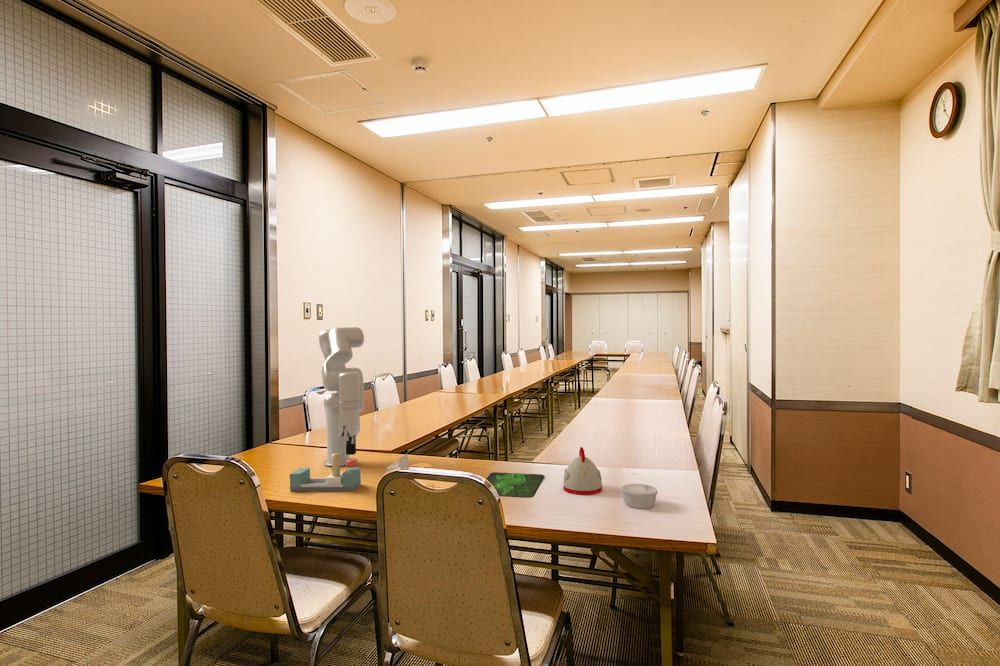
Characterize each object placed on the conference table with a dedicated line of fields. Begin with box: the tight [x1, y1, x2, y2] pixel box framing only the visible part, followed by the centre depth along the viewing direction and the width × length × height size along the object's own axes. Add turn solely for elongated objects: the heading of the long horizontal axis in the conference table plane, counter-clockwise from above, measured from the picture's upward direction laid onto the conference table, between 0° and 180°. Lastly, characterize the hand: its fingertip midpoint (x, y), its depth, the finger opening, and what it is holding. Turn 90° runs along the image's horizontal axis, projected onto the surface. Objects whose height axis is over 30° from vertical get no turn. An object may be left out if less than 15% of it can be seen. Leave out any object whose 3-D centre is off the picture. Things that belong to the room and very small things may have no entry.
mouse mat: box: [485, 471, 545, 499], centre depth 190 cm, size 27×22×1 cm
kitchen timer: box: [563, 446, 603, 496], centre depth 183 cm, size 14×14×15 cm
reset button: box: [345, 458, 358, 468], centre depth 191 cm, size 4×4×2 cm
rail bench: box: [289, 467, 362, 492], centre depth 192 cm, size 8×24×6 cm, turn 86°
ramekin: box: [621, 483, 658, 510], centre depth 166 cm, size 11×11×5 cm
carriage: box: [324, 453, 343, 484], centre depth 192 cm, size 6×6×11 cm
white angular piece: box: [386, 453, 410, 473], centre depth 179 cm, size 9×5×15 cm, turn 168°
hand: (351, 454), depth 191 cm, fingers closed
